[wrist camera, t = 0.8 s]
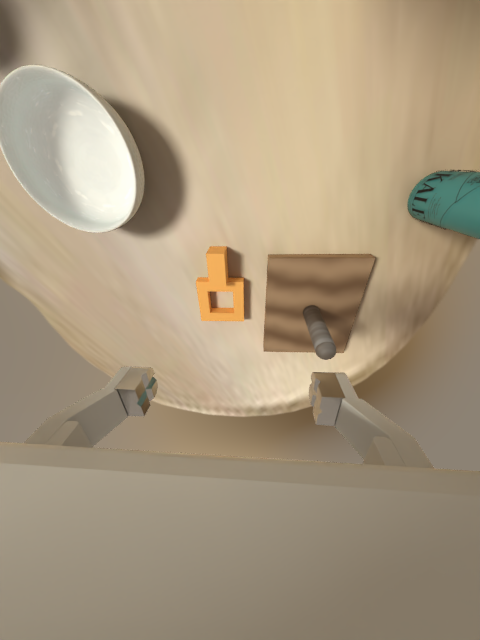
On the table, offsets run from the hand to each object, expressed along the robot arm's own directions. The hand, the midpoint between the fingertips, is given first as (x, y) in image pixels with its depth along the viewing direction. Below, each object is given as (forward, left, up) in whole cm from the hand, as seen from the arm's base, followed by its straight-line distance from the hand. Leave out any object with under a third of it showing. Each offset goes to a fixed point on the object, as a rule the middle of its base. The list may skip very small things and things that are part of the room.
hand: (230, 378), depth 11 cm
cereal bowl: (-10, -22, -32) cm, 41 cm away
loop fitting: (+10, -5, -32) cm, 34 cm away
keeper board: (+15, +13, -32) cm, 38 cm away
